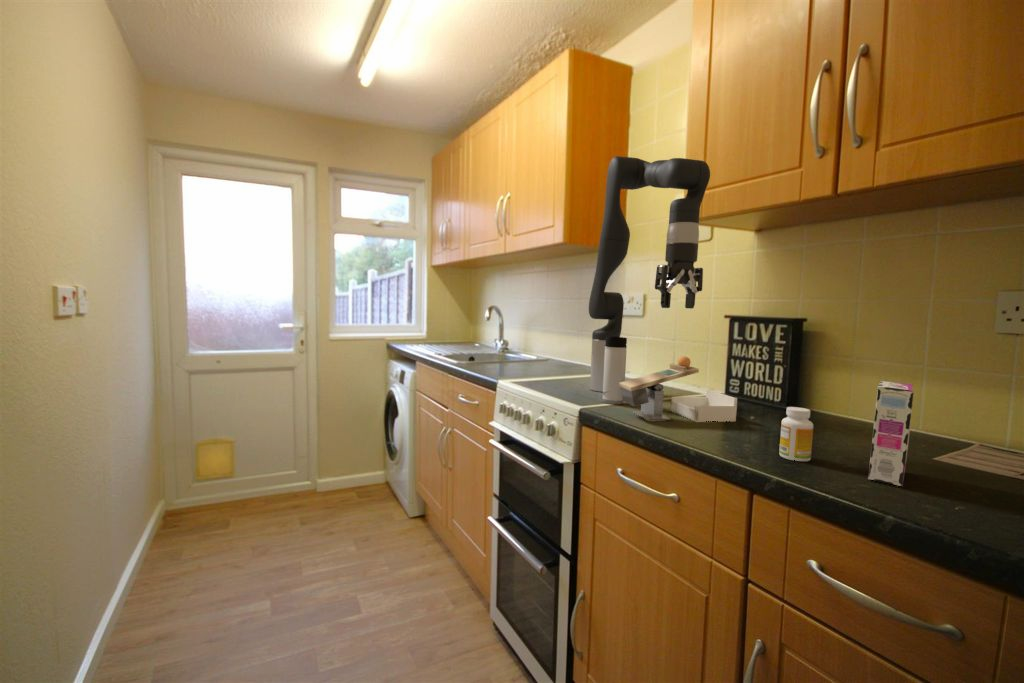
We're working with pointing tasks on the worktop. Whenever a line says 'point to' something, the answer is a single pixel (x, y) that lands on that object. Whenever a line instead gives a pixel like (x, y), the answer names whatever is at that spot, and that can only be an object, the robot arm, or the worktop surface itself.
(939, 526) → the worktop surface
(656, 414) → the fulcrum
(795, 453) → the supplement bottle
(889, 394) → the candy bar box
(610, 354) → the travel mug
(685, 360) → the ball
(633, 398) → the lever
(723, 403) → the tray
